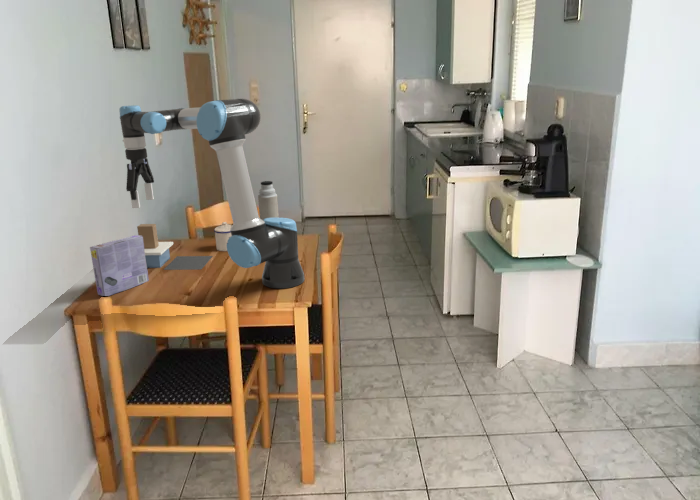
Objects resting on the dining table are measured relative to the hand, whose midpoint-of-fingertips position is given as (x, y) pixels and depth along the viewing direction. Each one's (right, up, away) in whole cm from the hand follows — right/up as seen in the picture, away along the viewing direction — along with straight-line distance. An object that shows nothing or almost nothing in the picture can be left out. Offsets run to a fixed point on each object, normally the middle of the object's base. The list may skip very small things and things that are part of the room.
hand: (143, 203), depth 220 cm
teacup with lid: (+28, -17, +25) cm, 41 cm away
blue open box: (+1, -23, +8) cm, 25 cm away
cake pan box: (0, -32, -16) cm, 36 cm away
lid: (+1, -18, +6) cm, 19 cm away
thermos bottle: (+46, -16, +26) cm, 55 cm away
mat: (+16, -23, +7) cm, 29 cm away
